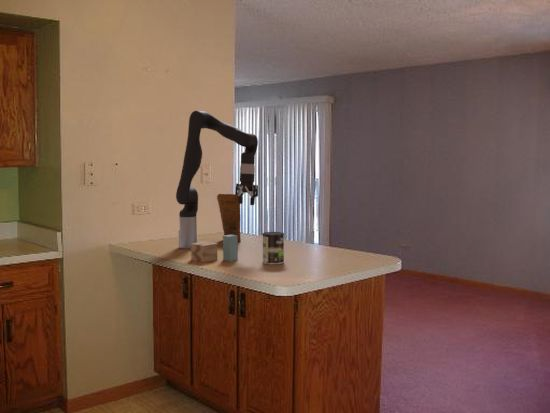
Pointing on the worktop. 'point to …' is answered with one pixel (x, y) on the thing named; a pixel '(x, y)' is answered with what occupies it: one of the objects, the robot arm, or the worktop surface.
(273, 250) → the coffee can
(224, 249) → the post
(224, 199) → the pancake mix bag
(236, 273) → the worktop surface
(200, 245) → the block
